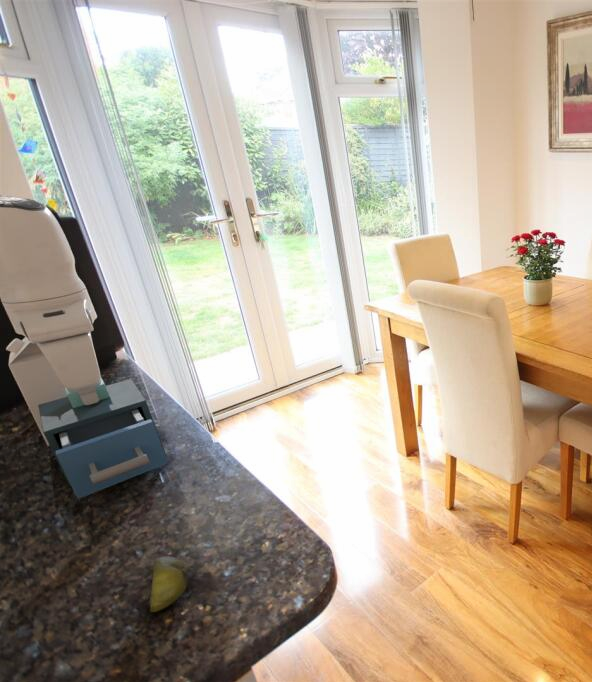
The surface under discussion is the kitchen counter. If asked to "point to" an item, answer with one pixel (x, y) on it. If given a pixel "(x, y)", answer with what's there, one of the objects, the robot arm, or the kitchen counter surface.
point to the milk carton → (34, 376)
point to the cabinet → (90, 412)
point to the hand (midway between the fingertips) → (89, 397)
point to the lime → (167, 582)
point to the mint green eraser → (77, 400)
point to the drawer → (109, 451)
